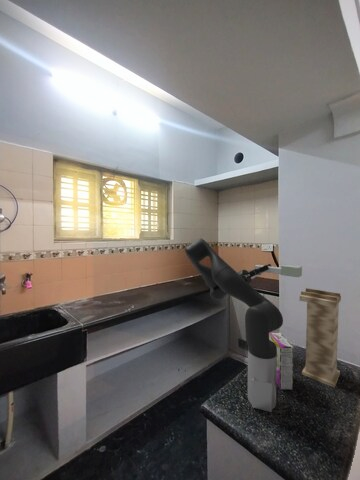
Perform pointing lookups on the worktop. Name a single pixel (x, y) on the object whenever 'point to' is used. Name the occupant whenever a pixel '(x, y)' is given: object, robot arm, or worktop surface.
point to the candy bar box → (283, 361)
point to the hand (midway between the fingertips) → (269, 266)
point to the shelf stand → (321, 335)
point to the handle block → (284, 270)
